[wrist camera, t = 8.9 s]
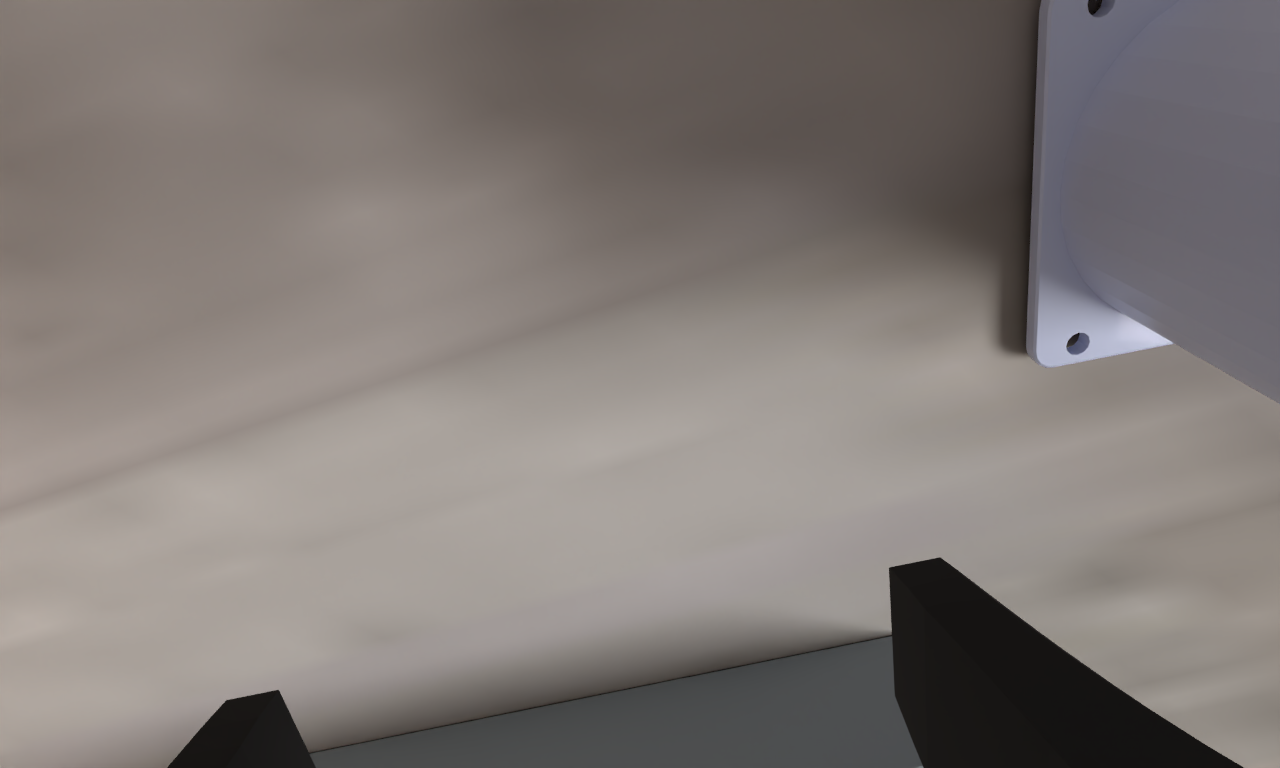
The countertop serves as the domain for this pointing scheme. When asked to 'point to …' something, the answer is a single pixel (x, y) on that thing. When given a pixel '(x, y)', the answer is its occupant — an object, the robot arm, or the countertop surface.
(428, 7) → the countertop surface
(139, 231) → the countertop surface
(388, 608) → the countertop surface
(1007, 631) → the robot arm
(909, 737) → the grey angular frame piece
